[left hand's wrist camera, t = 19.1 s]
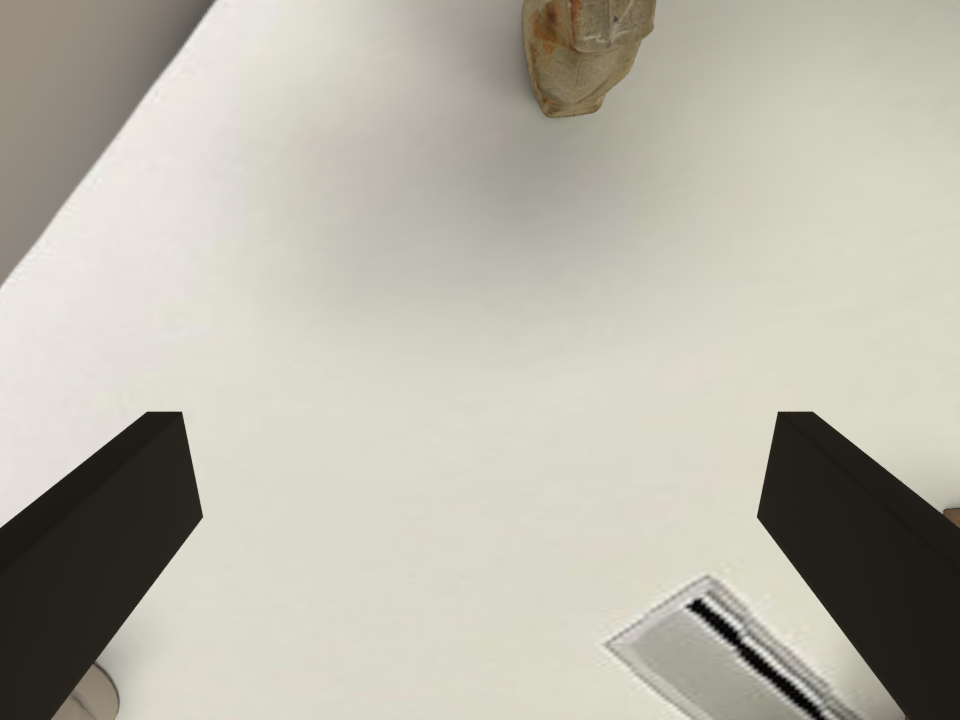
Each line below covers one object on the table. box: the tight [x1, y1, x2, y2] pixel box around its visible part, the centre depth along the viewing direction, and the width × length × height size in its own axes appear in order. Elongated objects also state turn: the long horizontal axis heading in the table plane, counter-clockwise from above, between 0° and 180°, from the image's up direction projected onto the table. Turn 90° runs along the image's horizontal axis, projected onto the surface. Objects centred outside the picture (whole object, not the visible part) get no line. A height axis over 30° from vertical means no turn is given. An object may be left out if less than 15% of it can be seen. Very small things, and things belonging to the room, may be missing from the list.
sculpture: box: [522, 0, 656, 118], centre depth 29 cm, size 6×7×15 cm
